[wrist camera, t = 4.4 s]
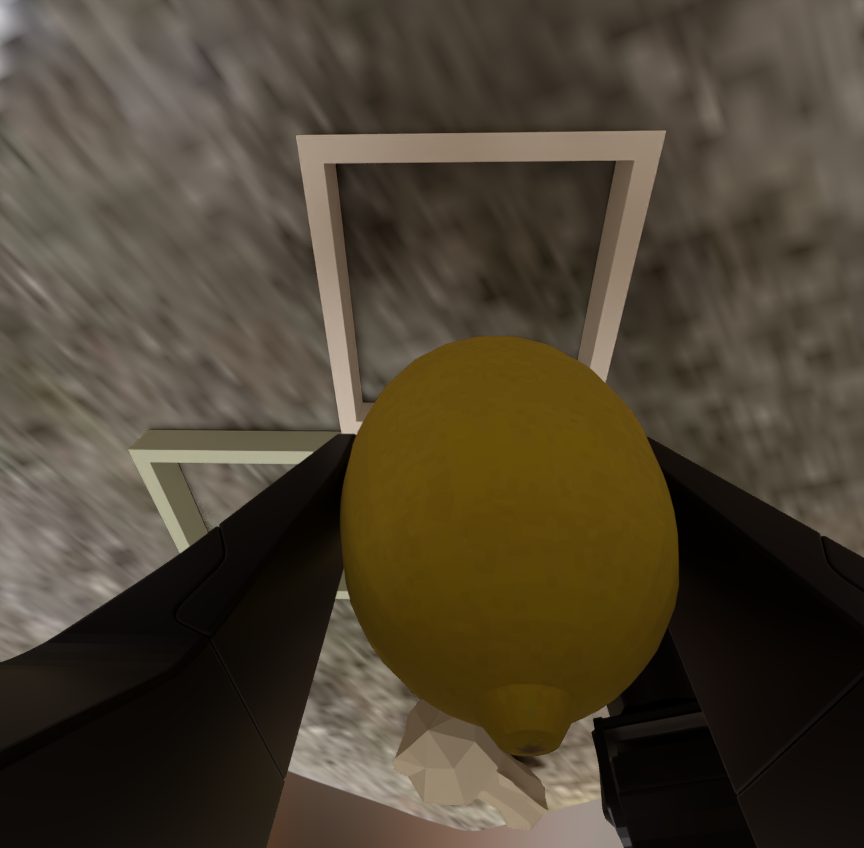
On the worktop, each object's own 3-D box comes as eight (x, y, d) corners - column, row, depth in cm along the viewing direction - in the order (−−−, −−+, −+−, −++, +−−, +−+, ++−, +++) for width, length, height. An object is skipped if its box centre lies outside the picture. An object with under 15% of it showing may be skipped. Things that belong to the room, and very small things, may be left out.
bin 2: (644, 132, 15) (666, 130, 13) (582, 417, 22) (592, 437, 20) (310, 136, 15) (295, 135, 14) (348, 415, 22) (341, 435, 20)
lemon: (379, 467, 13) (303, 820, 6) (374, 279, 10) (212, 569, 3) (562, 477, 13) (689, 843, 6) (614, 293, 10) (986, 613, 3)
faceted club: (491, 662, 33) (571, 763, 46) (401, 653, 37) (498, 748, 50) (470, 809, 27) (569, 877, 40) (364, 779, 31) (486, 850, 44)
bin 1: (370, 431, 22) (364, 452, 21) (385, 576, 29) (382, 599, 27) (149, 429, 23) (128, 449, 21) (213, 572, 29) (201, 595, 28)
